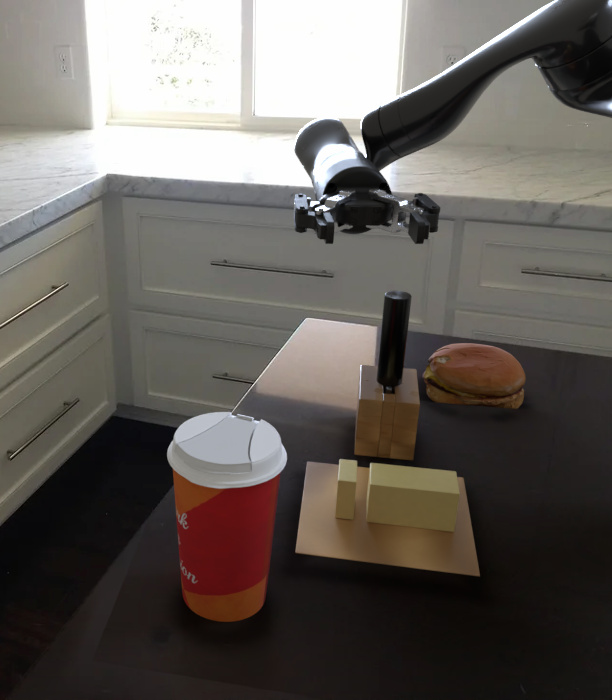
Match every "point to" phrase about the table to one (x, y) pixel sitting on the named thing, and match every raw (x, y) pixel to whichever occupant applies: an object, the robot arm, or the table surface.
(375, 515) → the butter
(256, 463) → the paper cup
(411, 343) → the table surface
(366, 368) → the knife block
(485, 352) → the burger
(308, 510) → the board
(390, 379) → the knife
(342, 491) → the butter pat
